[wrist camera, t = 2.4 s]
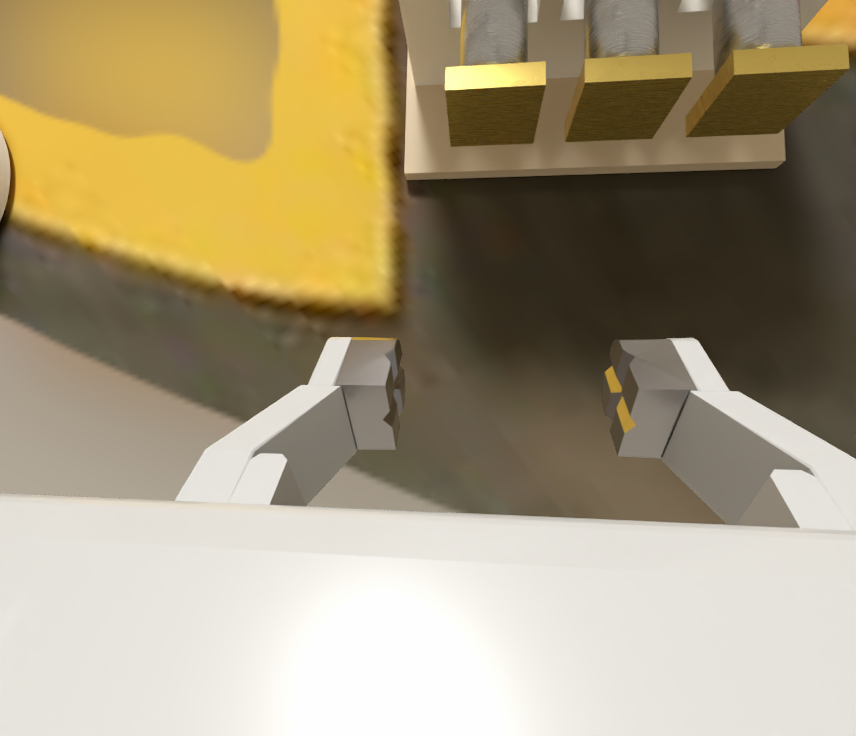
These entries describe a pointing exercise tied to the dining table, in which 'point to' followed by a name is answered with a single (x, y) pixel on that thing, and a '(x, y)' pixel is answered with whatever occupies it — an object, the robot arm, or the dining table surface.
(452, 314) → the dining table surface
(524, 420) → the dining table surface
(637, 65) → the middle rod
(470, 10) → the left rod
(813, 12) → the panel
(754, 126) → the right rod
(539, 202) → the dining table surface
